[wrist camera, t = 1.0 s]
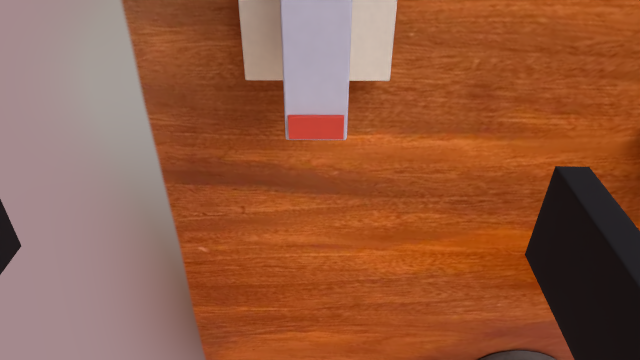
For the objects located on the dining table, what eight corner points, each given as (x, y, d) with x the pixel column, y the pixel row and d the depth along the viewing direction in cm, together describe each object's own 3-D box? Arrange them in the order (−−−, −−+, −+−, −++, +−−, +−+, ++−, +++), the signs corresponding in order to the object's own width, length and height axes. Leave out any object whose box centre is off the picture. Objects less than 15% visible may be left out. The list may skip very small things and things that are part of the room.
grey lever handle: (289, -107, 22) (275, -78, 15) (345, -106, 22) (356, -78, 15) (294, 64, 27) (285, 143, 20) (340, 64, 27) (346, 144, 20)
